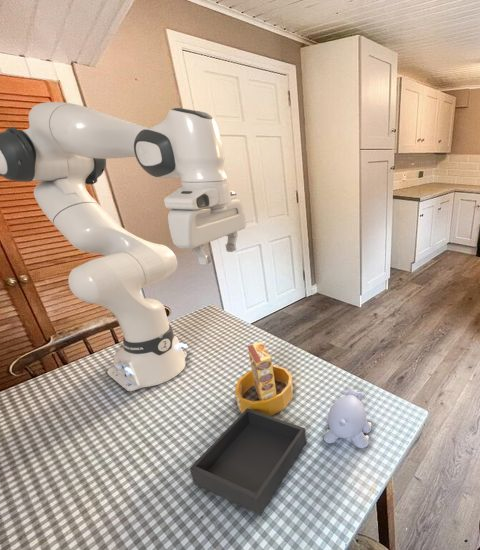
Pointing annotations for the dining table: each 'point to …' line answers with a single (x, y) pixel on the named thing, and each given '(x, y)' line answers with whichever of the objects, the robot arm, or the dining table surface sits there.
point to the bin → (250, 460)
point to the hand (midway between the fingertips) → (219, 257)
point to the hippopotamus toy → (348, 419)
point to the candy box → (262, 371)
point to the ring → (271, 404)
